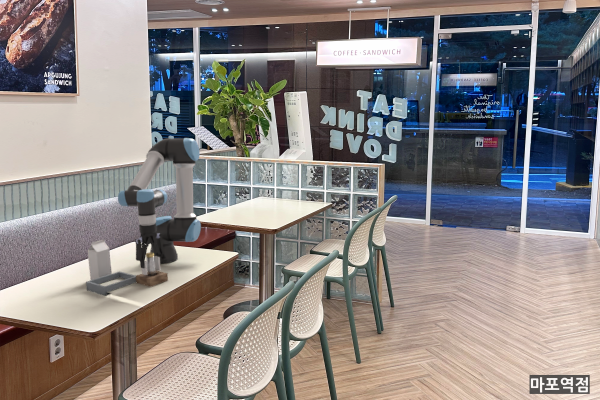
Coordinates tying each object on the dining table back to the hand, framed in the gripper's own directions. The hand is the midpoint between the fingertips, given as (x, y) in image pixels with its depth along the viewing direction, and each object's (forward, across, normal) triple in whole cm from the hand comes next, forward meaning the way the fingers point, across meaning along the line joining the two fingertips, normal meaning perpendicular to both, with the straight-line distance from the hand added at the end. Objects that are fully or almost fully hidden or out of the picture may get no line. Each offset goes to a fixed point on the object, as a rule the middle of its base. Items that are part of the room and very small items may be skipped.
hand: (151, 272), depth 250 cm
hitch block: (+6, 0, 0) cm, 6 cm away
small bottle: (+5, 0, 0) cm, 5 cm away
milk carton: (+6, +8, -28) cm, 30 cm away
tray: (+6, +12, -13) cm, 19 cm away
